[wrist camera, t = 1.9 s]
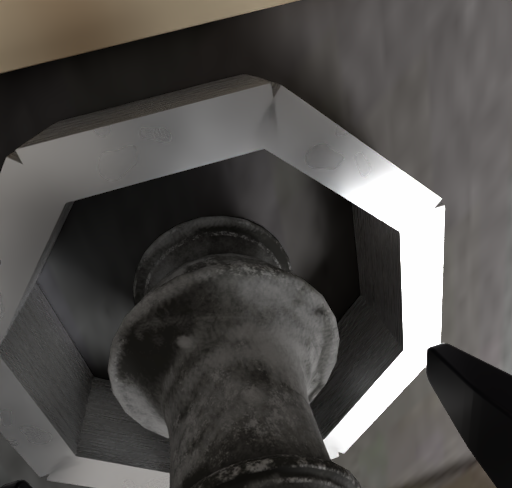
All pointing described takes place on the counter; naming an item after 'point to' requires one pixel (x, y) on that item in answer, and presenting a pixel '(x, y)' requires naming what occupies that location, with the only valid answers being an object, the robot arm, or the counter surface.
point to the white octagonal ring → (169, 162)
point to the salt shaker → (228, 359)
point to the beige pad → (100, 24)
